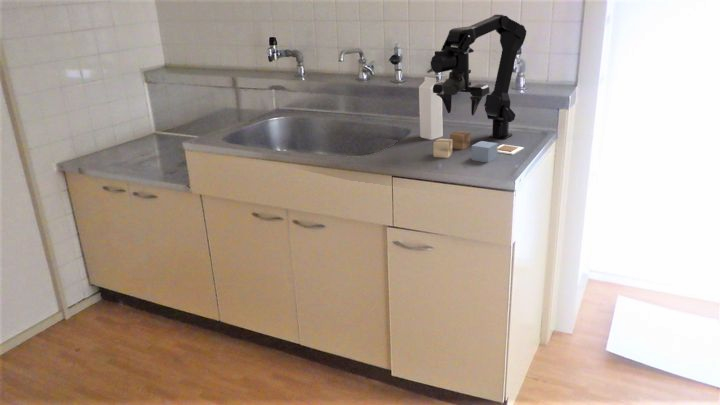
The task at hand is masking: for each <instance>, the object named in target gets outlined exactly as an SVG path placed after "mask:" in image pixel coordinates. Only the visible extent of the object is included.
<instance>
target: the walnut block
mask: <svg viewBox="0 0 720 405" xmlns="http://www.w3.org/2000/svg"><path fill="white" fill-rule="evenodd" d="M449 139H452V149H455V150H456V149H457V150H465V149H467V148H469V147H471V132H470V131H463V130H456V131H454V132H451V133H450V134H449Z"/></svg>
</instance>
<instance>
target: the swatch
mask: <svg viewBox="0 0 720 405" xmlns="http://www.w3.org/2000/svg"><path fill="white" fill-rule="evenodd" d="M524 149H525V147H522V146H516V145H510V144H501V145H500V144H499V146H498V154H499V153H500V154H505V155H506V154H507V155H512V156H513V155H515V154H517V153H520V152H521V151H522V150H524Z"/></svg>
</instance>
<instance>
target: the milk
mask: <svg viewBox="0 0 720 405" xmlns="http://www.w3.org/2000/svg"><path fill="white" fill-rule="evenodd" d="M437 83H438V82H437V79H436V77H435V78H434V77H429V76H424V81H423V82H422V83H421V84H420V85H419V87H418V100H419V101H418V102H419V103H418V104H419V107H418V108H419V134H420V138H421V139H422V138H423V139H425V140H430V141H432V140H437V139H441V138H442V137H443V136H444V132H443V130H444V129H443V126H444V125H443V120H444V119H443V100H442V98H441V97H440V96H437V95H436V94H437V93H433V86H434V84H437Z"/></svg>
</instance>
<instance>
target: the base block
mask: <svg viewBox="0 0 720 405" xmlns="http://www.w3.org/2000/svg"><path fill="white" fill-rule="evenodd" d="M498 144H499V143H498V142H490V141H484V140H480V141H478V142H476V143H474V144H472V145H471V160H472V161H475V162H483V163H491V162H492V161H494V160H496V159H498V154H499V153H498Z"/></svg>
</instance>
